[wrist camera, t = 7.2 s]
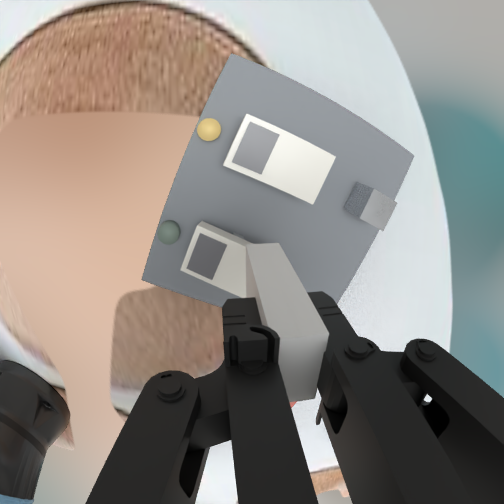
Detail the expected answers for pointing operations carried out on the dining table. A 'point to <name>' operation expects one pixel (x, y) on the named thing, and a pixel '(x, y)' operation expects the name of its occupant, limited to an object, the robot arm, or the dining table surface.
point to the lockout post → (370, 205)
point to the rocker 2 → (279, 159)
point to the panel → (268, 197)
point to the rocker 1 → (217, 259)
